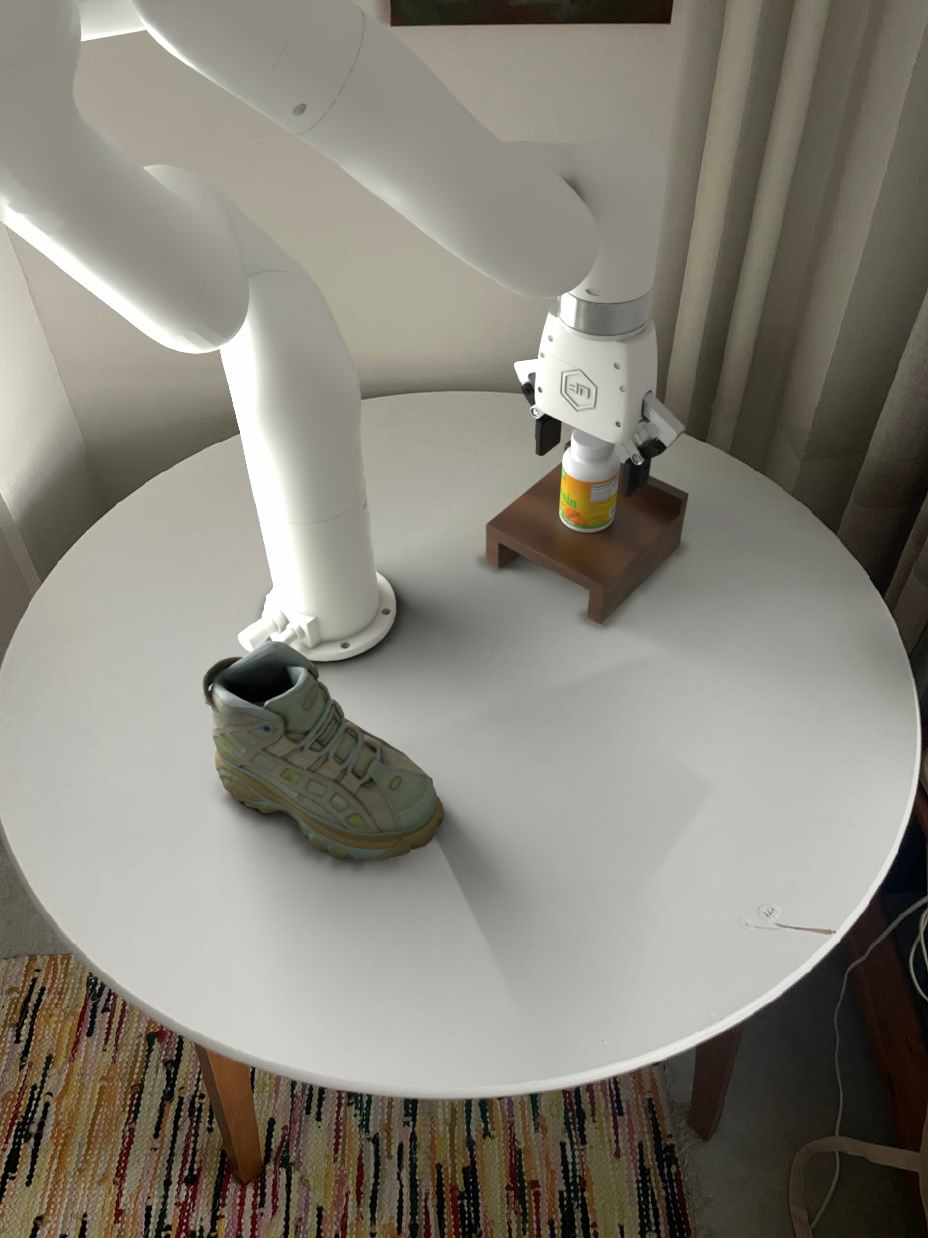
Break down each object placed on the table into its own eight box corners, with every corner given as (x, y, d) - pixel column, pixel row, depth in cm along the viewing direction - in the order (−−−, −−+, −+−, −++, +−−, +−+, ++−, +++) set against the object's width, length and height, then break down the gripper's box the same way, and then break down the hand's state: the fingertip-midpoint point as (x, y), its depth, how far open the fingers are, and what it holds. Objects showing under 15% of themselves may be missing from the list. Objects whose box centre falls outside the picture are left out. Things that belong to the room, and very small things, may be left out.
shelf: (600, 625, 97) (606, 571, 92) (485, 561, 103) (485, 508, 98) (679, 546, 104) (688, 493, 99) (567, 491, 111) (571, 438, 106)
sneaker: (373, 915, 77) (364, 787, 67) (197, 789, 85) (166, 659, 75) (461, 823, 83) (464, 693, 73) (290, 715, 92) (272, 586, 82)
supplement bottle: (549, 507, 101) (553, 426, 94) (597, 492, 103) (605, 411, 96) (574, 540, 98) (581, 458, 91) (624, 525, 99) (634, 443, 92)
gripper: (492, 286, 86) (492, 452, 98) (670, 357, 78) (645, 527, 90) (546, 252, 89) (539, 416, 102) (721, 316, 82) (690, 485, 94)
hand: (589, 468), depth 96 cm, fingers open, 9 cm apart
